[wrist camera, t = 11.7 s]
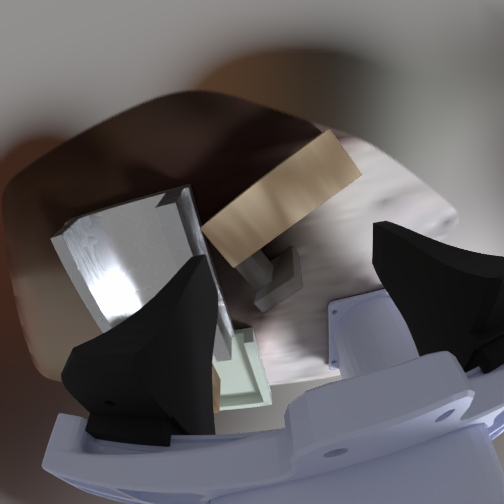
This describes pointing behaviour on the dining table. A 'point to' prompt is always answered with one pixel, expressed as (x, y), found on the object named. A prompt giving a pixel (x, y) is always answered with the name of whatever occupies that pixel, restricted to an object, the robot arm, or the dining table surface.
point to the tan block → (279, 215)
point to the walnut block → (216, 390)
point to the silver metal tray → (137, 257)
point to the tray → (243, 374)
